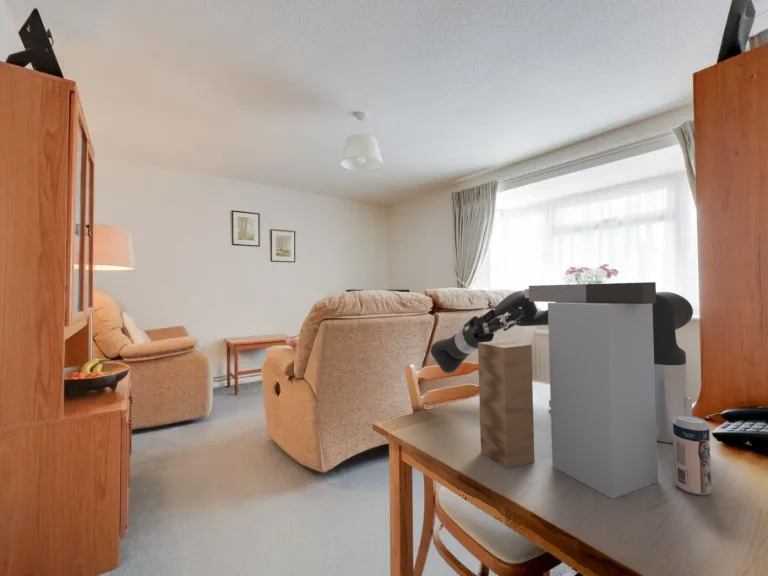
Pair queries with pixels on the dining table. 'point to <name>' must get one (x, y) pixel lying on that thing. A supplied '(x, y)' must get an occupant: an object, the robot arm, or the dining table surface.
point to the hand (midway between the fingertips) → (509, 311)
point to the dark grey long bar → (595, 293)
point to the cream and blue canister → (692, 454)
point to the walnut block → (506, 402)
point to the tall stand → (603, 394)
